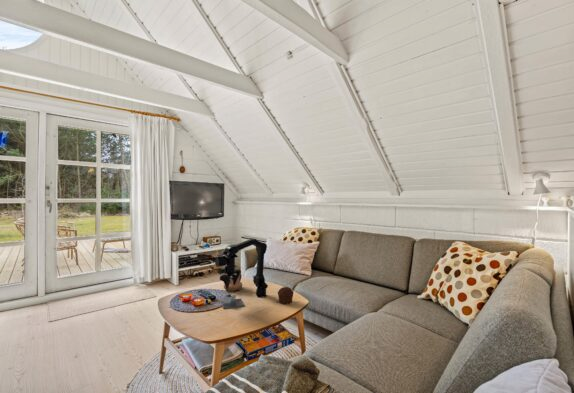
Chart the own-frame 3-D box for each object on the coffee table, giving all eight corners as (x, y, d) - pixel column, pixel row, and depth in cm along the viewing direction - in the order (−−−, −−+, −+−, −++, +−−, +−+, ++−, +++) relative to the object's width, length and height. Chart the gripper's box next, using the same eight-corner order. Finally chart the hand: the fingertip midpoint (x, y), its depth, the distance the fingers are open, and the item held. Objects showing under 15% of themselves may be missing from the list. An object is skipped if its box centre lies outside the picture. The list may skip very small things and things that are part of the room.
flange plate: (240, 299, 205) (240, 292, 205) (244, 306, 193) (244, 298, 193) (220, 302, 200) (220, 295, 200) (223, 309, 189) (223, 301, 188)
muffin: (283, 297, 209) (283, 284, 209) (296, 301, 203) (296, 287, 203) (274, 303, 199) (274, 288, 199) (287, 306, 193) (287, 291, 193)
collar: (235, 302, 197) (235, 295, 197) (230, 305, 192) (230, 298, 192) (228, 300, 200) (228, 293, 200) (223, 304, 194) (223, 296, 194)
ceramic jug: (232, 294, 215) (232, 275, 215) (218, 290, 223) (218, 272, 223) (248, 287, 230) (248, 270, 230) (235, 284, 238) (235, 267, 238)
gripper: (227, 260, 208) (227, 281, 208) (212, 266, 190) (212, 290, 191) (241, 261, 204) (241, 283, 205) (227, 268, 187) (227, 292, 187)
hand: (230, 286), depth 197 cm, fingers open, 9 cm apart
